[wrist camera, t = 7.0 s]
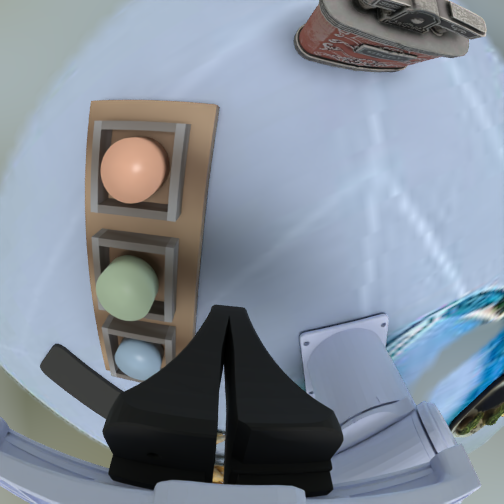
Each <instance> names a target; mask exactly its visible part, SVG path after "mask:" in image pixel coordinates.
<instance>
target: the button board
mask: <svg viewBox="0 0 504 504" xmlns="http://www.w3.org/2000/svg"><path fill="white" fill-rule="evenodd" d="M219 108H220V107H219V106H218V105H214V104H204V103H193V102H179V101H158V100H101V101H91V106H90V114H89V124H88V135H87V148H86V169H85V218H86V240H87V254H88V265H89V275H90V284H91V291H92V299H93V306H94V312H95V318H96V324H97V330H98V335H99V340H100V345H101V350H102V354H103V359H104V363H105V367H106V370H109V371H110V372H111V376H114V377H118V378H123V379H127V380H132V381H136V382H141V383H142V382H143V381H145V380H138V379H134V378H132V377H130V376H128V375H126V374H125V373H123V372H122V371H121V370H120V369H119V367H118V366H117V364H116V362H115V354H116V352H117V349H118V347H119V345H120V343H121V341H122V339H123V337H127V338H132V339H137V340H142V341H147V342H153V343H159V344H161V346H162V348H163V350H164V357H163V360H162V364H161V368H160V370H161V369H162V368H163V367H165V366H166V365H167V364H168V363H169V362H171V361H172V360H173V359H174V358H175V357H176V356H177V355H178V354H179V353H180V352H181V351H182V350H183V349H184V348H185V347H186V346H187V345H188V343H189V342H190V341H191V340H192V339H193V337H194V336H195V326H196V311H197V297H198V284H199V272H200V261H201V250H202V240H203V230H204V220H205V211H206V202H207V194H208V186H209V178H210V170H211V162H212V155H213V148H214V141H215V134H216V127H217V121H218V114H219ZM140 136H144V137H149V138H152V139H154V140H156V141H157V142H159V143H160V144H161V145H162V146H163V148H164V149H165V151H166V153H167V155H168V158H169V173H168V177H167V179H166V181H165V183H164V184H163V185H162V187H161V188H160V189H159V190H157V191H156V192H155V193H153V194H152V195H151V196H150V197H148V198H147V199H145V200H144V201H141V202H138V203H132V204H130V203H123V202H120V201H118V200H116V199H115V198H113V197H112V196H111V195H110V194H109V193H108V192H107V190H106V189H105V187H104V185H103V182H102V179H101V163H102V159H103V157H104V155H105V153H106V151H107V150H108V149H109V148H110V146H112V145H113V144H114V143H115V142H117V141H119V140H121V139H124V138H131V137H140ZM124 255H131V256H136V257H138V258H141V259H142V260H144V261H145V262H147V263H148V264H149V265H150V266H151V267H152V268H153V270H154V271H155V273H156V275H157V278H158V282H159V288H158V292H157V295H156V297H155V299H154V301H153V304H152V306H151V308H150V310H149V312H148V314H147V315H146V316H145V317H143V318H142V319H139V320H136V321H125V320H121V319H118V318H116V317H114V316H113V315H111V314H110V313H108V312H107V311H106V310H105V309H104V308H103V306H102V305H101V303H100V302H99V300H98V297H97V294H96V283H97V280H98V278H99V276H100V275H101V274H102V273H103V271H104V270H105V269H106V268H107V267H108V266H109V264H110V263H111V262H112V261H113V260H114V259H116V258H117V257H120V256H124Z"/></svg>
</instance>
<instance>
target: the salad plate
mask: <svg viewBox="0 0 504 504" xmlns="http://www.w3.org/2000/svg"><path fill="white" fill-rule="evenodd" d="M500 416H502V417H503V416H504V375H503V376H502V377H500V378H498V379H497V380H496V381H494V382H493V383H492V384H491V385H490V386H488V387H487V388H486V389H485V390H484V391H483V392H482V393H481V394H480V395H479V396H478V397H477V398H476V399H475V400H474V401H473V402H472V403H470V404H469V405H468V406H467V407H466V408H465V409H464V410H463V411H462V412H461V413H460V414H459V415H458V416H457V417H456V418H455V419H454V421H453V422H452V423H451V425H450V428H449V429H450V431H451V433H452V434H453V436H454V437H468V436H470V435H472V434H474V433H475V432H477V431H478V430H480V429H481V428H482V427H484V426H485V425H493V424H495V423H496V421H497V420H498V418H499V417H500Z"/></svg>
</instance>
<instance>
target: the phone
mask: <svg viewBox="0 0 504 504" xmlns="http://www.w3.org/2000/svg"><path fill="white" fill-rule="evenodd" d="M40 368H41V370H42V371H43V373H44V374H45V375H47V376H48V377H49V378H50V379H51V380H53V381H54V382H55V383H56V384H58V385H59V386H60V387H61V388H63V389H64V390H65V391H67V392H68V393H69V394H71V395H72V396H73V397H75V398H76V399H77V400H79V401H80V402H81V403H83V404H84V405H86V406H87V407H89V408H90V409H92V410H93V411H94V412H96V413H97V414H99V415H100V416H102V417H104V418H105V419H107V416H108V413H109V411H110V409H111V407H112V405H113V404H114V402H115V400H116V399H117V397H118V395H119V394H120V393H123V391H122V390H120V389H119V388H118V387H116V386H115V385H113V384H112V383H110V382H109V381H108V380H106V379H105V378H103V377H102V376H101V375H99V374H98V373H97V372H95V371H94V370H93V369H91V368H90V367H89V366H88V365H86V364H85V363H84V362H82V361H81V360H80V359H79V358H77V357H76V356H75V355H74V354H73V353H71V352H70V351H69V350H68V349H67V348H65V347H64V346H62V345H60V344H55V345H54V346H53V347H52V348H51V350H50V351H49V353H48V354H47V356H46V357H45V358H44V360H43V361H42V363H41V365H40Z"/></svg>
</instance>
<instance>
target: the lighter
mask: <svg viewBox="0 0 504 504" xmlns="http://www.w3.org/2000/svg"><path fill="white" fill-rule="evenodd" d="M486 31H487V30H486V25H485V21H484V20H483V18H481V17H480V16H478V15H477V14H475V13H473V12H471V11H469V10H467V9H465V8H463V7H461V6H459V5H457V4H455V3H453V2H451V1H449V0H319V4H318V6H317V7H316V9H315V10H314V12H313V13H312V15H311V16H310V18H309V19H308V21H307V22H306V24H304V25H303V26H301V27H300V28H299V30H298V31H297V33H296V35H295V37H294V45H295V49H296V51H297V52H298V54H299V55H300V56H302V57H303V58H304V59H307V60H309V61H313V62H317V63H321V64H325V65H329V66H333V67H338V68H344V69H349V70H354V71H367V72H396V71H400V70H403V69H405V68H406V67H407V65H411V64H415V63H418V62H422V61H426V60H430V59H434V58H438V57H448V58H454V57H459V56H464V55H465V54H466V53H467V52H468V48H469V39H475V38H480V37H484V36H486Z"/></svg>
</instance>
